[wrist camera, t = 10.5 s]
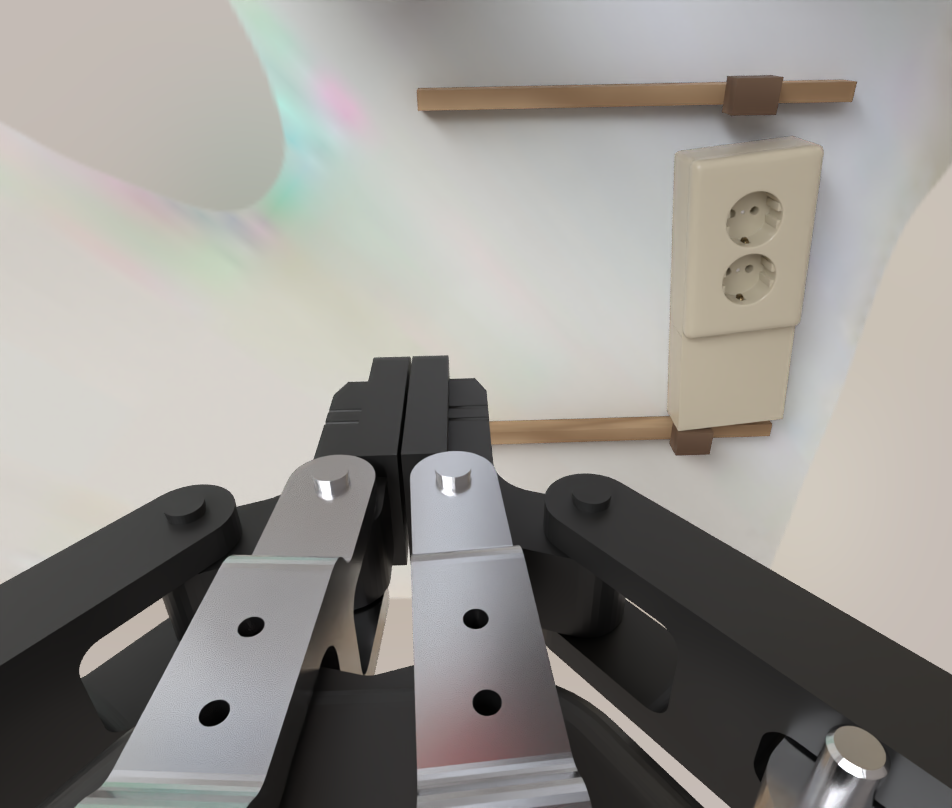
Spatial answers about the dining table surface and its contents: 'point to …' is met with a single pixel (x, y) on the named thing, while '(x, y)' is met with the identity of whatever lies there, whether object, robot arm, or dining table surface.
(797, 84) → the brown flat piece
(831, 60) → the dining table surface
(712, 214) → the electrical outlet
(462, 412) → the robot arm
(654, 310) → the dining table surface
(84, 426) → the dining table surface
